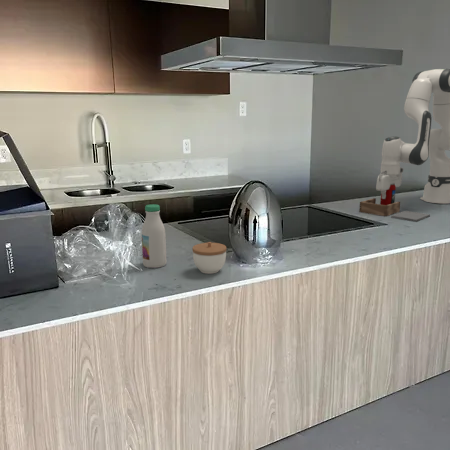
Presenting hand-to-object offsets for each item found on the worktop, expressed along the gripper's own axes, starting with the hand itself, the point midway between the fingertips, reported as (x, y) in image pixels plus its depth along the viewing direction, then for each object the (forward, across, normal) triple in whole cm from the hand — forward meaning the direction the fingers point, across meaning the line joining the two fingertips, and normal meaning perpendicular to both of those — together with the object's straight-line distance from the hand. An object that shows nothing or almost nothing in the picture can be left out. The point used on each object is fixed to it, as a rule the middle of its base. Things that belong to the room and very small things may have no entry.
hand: (387, 197), depth 234 cm
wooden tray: (+6, -8, 0) cm, 10 cm away
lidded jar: (+5, -126, -3) cm, 126 cm away
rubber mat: (+6, -8, -16) cm, 19 cm away
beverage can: (+5, 0, 0) cm, 5 cm away
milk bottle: (+5, -134, +14) cm, 135 cm away
